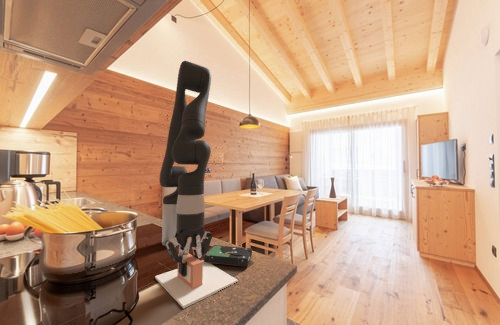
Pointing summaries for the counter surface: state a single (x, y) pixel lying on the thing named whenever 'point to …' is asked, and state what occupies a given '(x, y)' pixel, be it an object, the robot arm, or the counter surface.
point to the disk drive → (228, 255)
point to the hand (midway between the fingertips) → (189, 273)
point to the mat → (188, 296)
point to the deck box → (193, 272)
